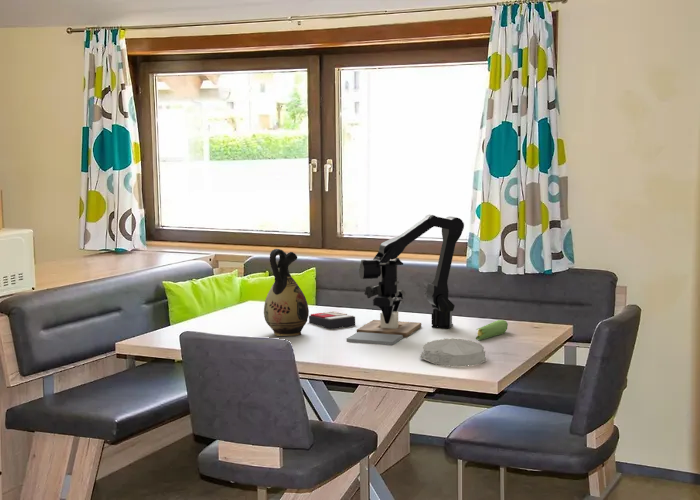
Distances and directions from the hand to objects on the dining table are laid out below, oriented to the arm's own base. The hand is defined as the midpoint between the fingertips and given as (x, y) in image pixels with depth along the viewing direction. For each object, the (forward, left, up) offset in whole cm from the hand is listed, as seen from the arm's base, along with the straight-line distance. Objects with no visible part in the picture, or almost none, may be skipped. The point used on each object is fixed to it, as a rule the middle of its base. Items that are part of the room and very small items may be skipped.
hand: (389, 322), depth 303 cm
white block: (0, 0, -2) cm, 2 cm away
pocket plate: (0, 0, -3) cm, 3 cm away
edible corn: (-35, -2, -3) cm, 35 cm away
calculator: (+23, -4, -4) cm, 24 cm away
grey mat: (0, +16, -3) cm, 16 cm away
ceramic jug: (+32, +18, -3) cm, 37 cm away
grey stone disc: (-31, +33, -4) cm, 45 cm away
